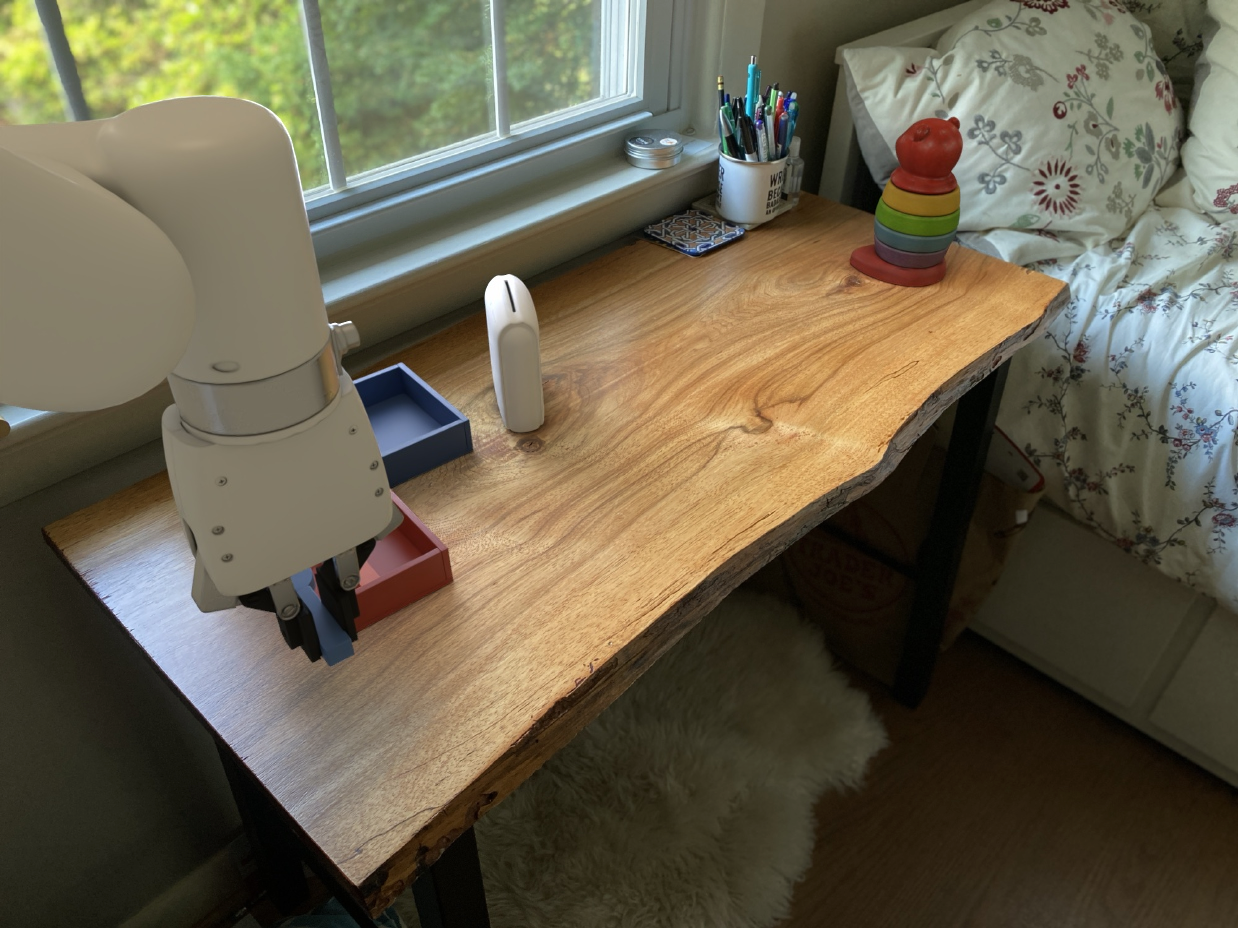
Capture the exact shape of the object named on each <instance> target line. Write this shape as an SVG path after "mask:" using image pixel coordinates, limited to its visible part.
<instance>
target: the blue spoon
mask: <svg viewBox="0 0 1238 928" xmlns="http://www.w3.org/2000/svg"><path fill="white" fill-rule="evenodd" d="M290 577H291V580H292V583H293V586H294V589H295V591H296V592H297V593H298V595H299V596H300V597H301V599H302V600H303V601H304V603H305V604H306V605H307V607H308V608H309V609H310V611H311V612H312V615H313V618H314V622H315V626H316V629H317V633H318V637H319V640H320V648H321V652H322V656H321V658H322V659H323V661H324V662H325V664H326V665H327V667H329V668H331V667H333V666H336V665H338V664H340V663H341V662H344V661H345V660H347V659H348V658H351V657H352V656H354V655H355V650H354V646H353V643H352V641H351V638H350V637H349V636H348V634H347V633H346V632H345V631H343V630H342V628H341V627H340V626H339V624H338V623H337V622H336V621H335V619H334V618H333V617H332V615H331V614H330V613H329V611H328V610H327V609H326V608H325V606H324V605H323V604H322V602H321V599H320V598H319V597H318V596H317V594H316V593H315V592H314V591H315V587H316V584H315V580H314V576H313V572H312V570H311V568H308V569H306V570H303V571H301V572H299V573H297V574H295V575H292V576H290Z"/></svg>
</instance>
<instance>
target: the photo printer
mask: <svg viewBox="0 0 1238 928" xmlns="http://www.w3.org/2000/svg"><path fill="white" fill-rule="evenodd" d="M484 304H485V305H484V307H485V314H486V325H487V336H488V343H489V344H488V346H489V356H490V364H491V373H492V380H493V386H494V387H493V388H494V391H495V397H496V402H497V405H498V410H499V413H500V416H501V420H502V423H503V425H504V427H505V428H506V430H511V432H514V433H528V432H532V431H535V430H537V429H539V428H540V426H542V425H544V422H545V402H544V401H545V399H544V390H543V374H542V373H543V372H542V357H541V340H540V325H539V320H538V315H537V311H536V306H535V304H534V301H533V298H532V295H531V293H530V291H529V289H528V288H527V286H526V285H525V284H524V282H523V281H522V280H521V279H520V278H518V277H517V276H515V275H513V274H510V273H509V274H506V275H496V276H494V277H493V278H492V279H490V281H489V283H488V284H487V287H486V289H485V292H484Z"/></svg>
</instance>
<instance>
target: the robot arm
mask: <svg viewBox="0 0 1238 928" xmlns="http://www.w3.org/2000/svg"><path fill="white" fill-rule="evenodd" d="M319 273H320V272H319V267H318V262H317V257H316V252H315V247H314V242H313V236H312V232H311V227H310V222H309V217H308V212H307V207H306V202H305V196H304V191H303V186H302V182H301V177H300V172H299V166H298V161H297V157H296V153H295V149H294V144H293V141H292V138H291V136H290V133H289V131H288V129H287V128H286V126H285V124H284V123H283V121H282V120H281V118H279V116H278V115H276V114H275V113H274V112H273V111H272V110H270V109H269V108H267V107H266V106H264V105H262V104H260V103H259V102H258V103H257V102H255V101H252V100H250V99H244V98H239V97H232V96H226V95H224V96H223V95H189V96H188V95H187V96H177V97H171V98H165V99H159V100H154V101H150V102H148V103H143V104H140V105H138V106H135V107H133V108H130V109H127V110H125V111H123V112H120V113H119V114H117V115H115V116H111V117H107V118H99V119H89V120H78V121H77V120H76V121H63V122H49V123H30V124H5V125H0V404H2V405H5V406H10V407H16V408H19V409H26V410H32V411H38V412H39V411H40V412H52V413H71V414H72V413H82V412H92V411H93V412H94V411H100V410H104V409H107V408H112V407H116V406H121V405H123V404H125V403H128V402H130V401H132V400H135V399H137V398H139V397H142V396H143V395H145V394H147V393H148V392H149V391H151V390H152V389H154V388H155V387H157V386H158V385H160V384H161V383H162V382H163V381H164V380H165V379H167V382H168V385H169V388H170V392H171V394H172V398H173V401H174V403H172V404H171V405H169V406H167V407H166V408H165V410H164V411H163V413H162V415H161V434H162V436H161V437H162V443H163V451H164V458H165V463H166V469H167V473H168V479H169V483H170V487H171V491H172V496H173V499H174V504H175V507H176V510H177V514H178V517H179V521H180V524H181V528H182V532H183V535H184V537H185V540H186V543H187V545H188V547H189V550H190V552H191V554H192V556H193V558H194V559H195V561H194V569H193V576H192V585H191V591H190V592H191V593H190V596H191V599H192V601H194V603H195V605H196V607H197V608H198V610H199V611H200V613H204V614H208V613H209V614H210V613H215V612H221V611H222V612H223V611H227V610H232V609H233V610H234V609H237V607H240V606H243V607H244V608H246V609H251V610H256V611H261V612H265V613H266V612H267V613H272V614H275V618H276V620H277V624H278V627H279V631H280V634H281V636H282V638H283V640H284V642H285V643H286V645H287V646H288V648H289V649H290V650H291V651H293V650H295V649H297V648H299V647H300V649H301V650H302V651H303V653H304V654H305V655H306V657H307V658H308V659H309V661H310V662H311V663H312V664H314V663H316V662H318V661H320V660H322V652H321V648H320V640H319V637H318V633H317V629H316V626H315V622H314V618H313V615H312V612H311V611H310V609H309V608H308V607H307V605H306V604H305V603H304V601H303V600H302V599H301V597H300V596H299V595H298V593H297V592H296V591H295V589H294V586H293V583H292V580H291V577H290V576H292V575H295V574H297V573H299V572H301V571H303V570H306V569H308V568H310V567H312V566H314V565H317V564H319V563H322V564H323V565H321V566H319V567H317V568H316V572H317V573H316V574H314V575H315V579H316V583H317V587H318V591H319V595H320V599H321V602H322V604H323V605H324V606H325V608H326V609H327V610H328V611H329V613H330V614H331V615H332V617H333V618H334V619H335V621H336V622H337V623H338V624H339V626H340V627H341V628H342V630H343V631H345V632H346V633H347V634H348V636H349V637H350V638H351V641H352V644H353V643H355V642H357V641H358V640H359V636H358V632H357V631H356V626H355V622H354V619H355V618H357V617H359V616H360V610H359V606H358V601H357V597H356V592H355V588H356V587H357V586H358V584H359V583H360V580H361V577H360V570H361V568H362V567H363V565H364V563H365V562H366V560H367V559H368V557H369V556H370V554H371V553H372V551H373V550H374V548H375V546H376V542H377V541H378V540H379V541H381V540H382V539H383V538H385V537H386V536H387V535H388V534H389V533H391V532H392V531H393V530H394V529H396V528H397V527H398V526H399V525H400V524H401V523H402V522H403V520H404V516H403V514H402V513H401V511H400V510H399V509H398V507H397V506H396V505H395V504H394V502H393V501H392V498H391V492H390V489H391V488H390V487H389V482H388V478H387V474H386V471H385V467H384V463H383V460H382V456H381V453H380V450H379V446H378V443H377V440H376V438H375V435H374V432H373V429H372V426H371V424H370V421H369V418H368V415H367V413H366V410H365V408H364V405H363V403H362V401H361V398H360V396H359V394H358V392H357V389H356V387H355V385H354V383H353V381H354V380H353V379H352V378H351V376H350V374H349V373H348V372H347V371H346V370H345V368H344V367H343V366H342V359H343V355H346V354H347V353H348V352H349V350H351V349H355V348H357V347H360V345H361V337H360V333H359V331H358V329H357V327H356V325H355V324H354V323H353V322H352V321H351V320H349V321H346V322H342V323H336V322H334V323H329V317H328V313H327V307H326V302H325V298H324V293H323V287H322V282H321V278H320V274H319ZM373 465H374V467H373Z"/></svg>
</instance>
